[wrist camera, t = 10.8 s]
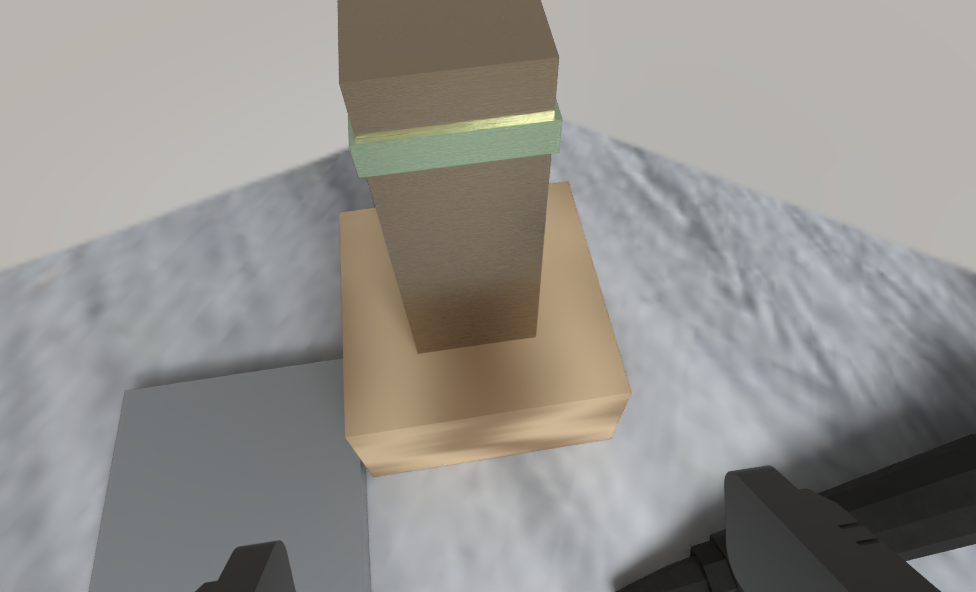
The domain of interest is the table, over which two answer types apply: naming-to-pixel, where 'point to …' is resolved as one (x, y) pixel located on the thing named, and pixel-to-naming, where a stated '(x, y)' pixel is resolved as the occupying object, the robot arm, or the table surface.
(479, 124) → the column
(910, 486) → the microphone
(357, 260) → the rest block
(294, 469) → the coaster
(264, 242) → the table surface
